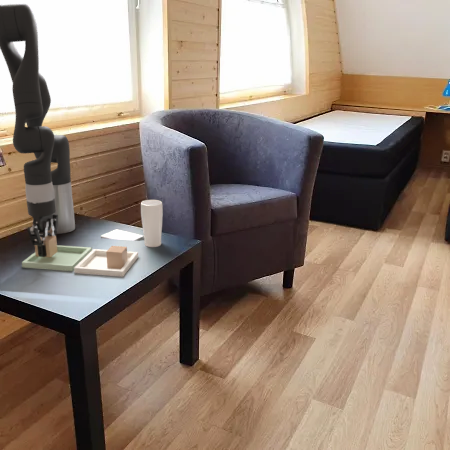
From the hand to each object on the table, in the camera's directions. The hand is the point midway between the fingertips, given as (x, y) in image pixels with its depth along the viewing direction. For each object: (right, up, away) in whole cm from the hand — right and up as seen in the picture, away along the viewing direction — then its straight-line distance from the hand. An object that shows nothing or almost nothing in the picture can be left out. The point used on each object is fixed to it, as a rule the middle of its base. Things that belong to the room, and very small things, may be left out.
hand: (46, 252), depth 140 cm
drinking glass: (+29, +1, +14) cm, 32 cm away
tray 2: (+19, -4, -2) cm, 19 cm away
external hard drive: (+18, +3, +21) cm, 28 cm away
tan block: (+22, -3, -3) cm, 22 cm away
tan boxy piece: (0, 0, 0) cm, 0 cm away
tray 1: (+3, -3, +1) cm, 4 cm away
